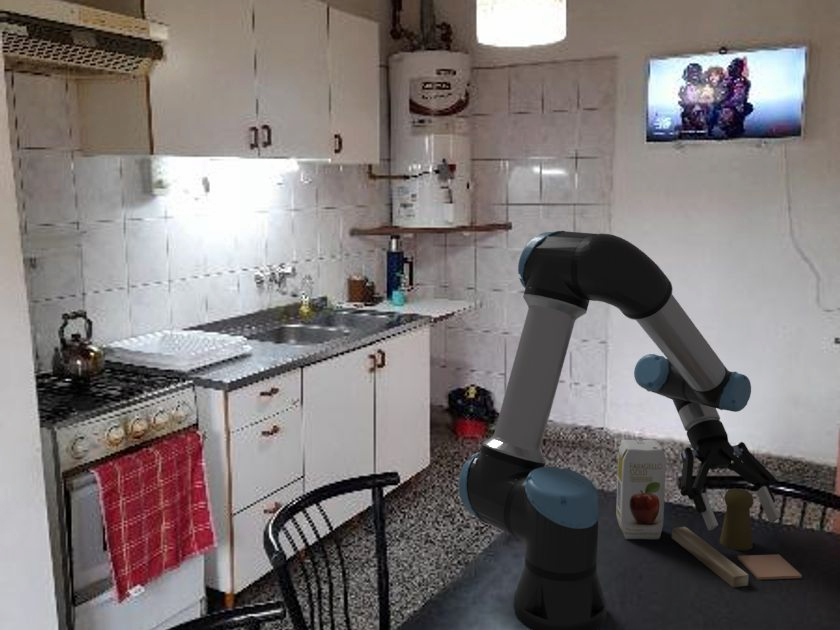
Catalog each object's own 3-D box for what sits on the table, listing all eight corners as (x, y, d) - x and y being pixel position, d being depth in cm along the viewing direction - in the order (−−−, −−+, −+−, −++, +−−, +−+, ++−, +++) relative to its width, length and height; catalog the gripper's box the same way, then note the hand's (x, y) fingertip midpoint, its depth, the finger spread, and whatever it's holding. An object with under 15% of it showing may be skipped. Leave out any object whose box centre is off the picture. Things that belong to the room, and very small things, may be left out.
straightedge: (732, 587, 135) (733, 576, 134) (671, 537, 154) (671, 528, 153) (747, 585, 135) (748, 574, 135) (684, 535, 154) (685, 526, 154)
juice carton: (613, 524, 160) (616, 437, 157) (655, 525, 160) (659, 437, 156) (621, 541, 153) (624, 450, 149) (665, 541, 152) (669, 450, 149)
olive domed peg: (755, 551, 147) (759, 498, 146) (722, 549, 149) (725, 495, 147) (749, 537, 153) (752, 486, 152) (717, 535, 155) (720, 483, 153)
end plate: (758, 579, 137) (758, 577, 137) (737, 558, 145) (737, 555, 145) (801, 578, 137) (801, 575, 137) (778, 556, 145) (778, 554, 145)
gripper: (746, 429, 166) (789, 523, 154) (642, 439, 160) (678, 537, 148) (764, 413, 160) (810, 509, 148) (656, 422, 154) (695, 523, 142)
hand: (744, 524), depth 148 cm, fingers open, 13 cm apart
